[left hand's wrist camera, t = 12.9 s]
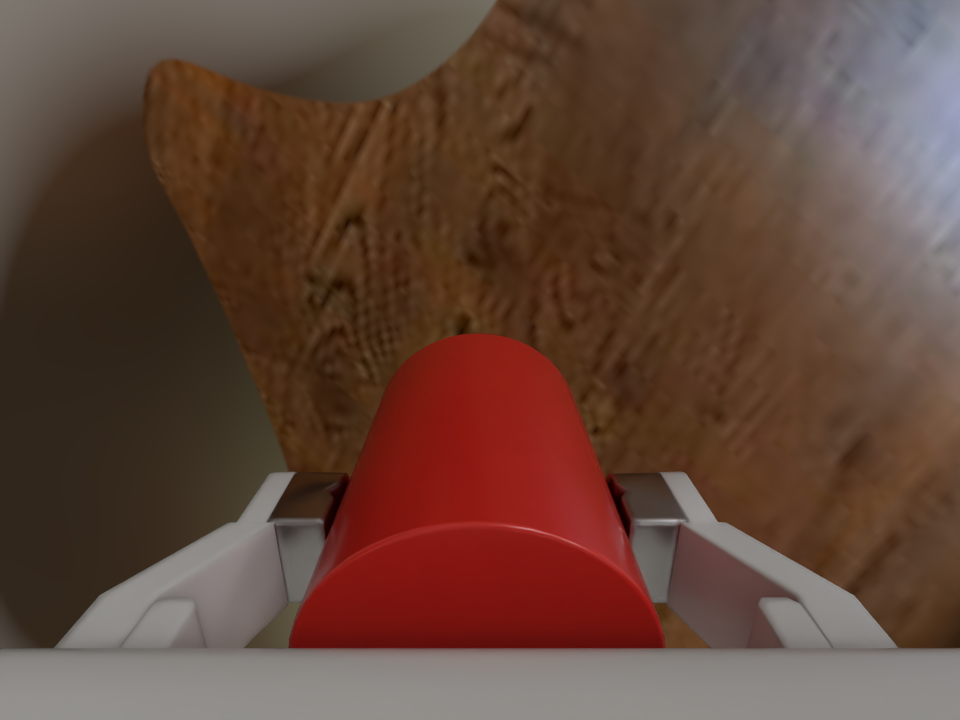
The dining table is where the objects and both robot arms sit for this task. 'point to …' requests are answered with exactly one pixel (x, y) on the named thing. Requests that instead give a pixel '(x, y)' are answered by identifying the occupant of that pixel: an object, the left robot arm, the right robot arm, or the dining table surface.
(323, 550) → the can
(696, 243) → the dining table surface
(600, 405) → the dining table surface
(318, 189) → the dining table surface
